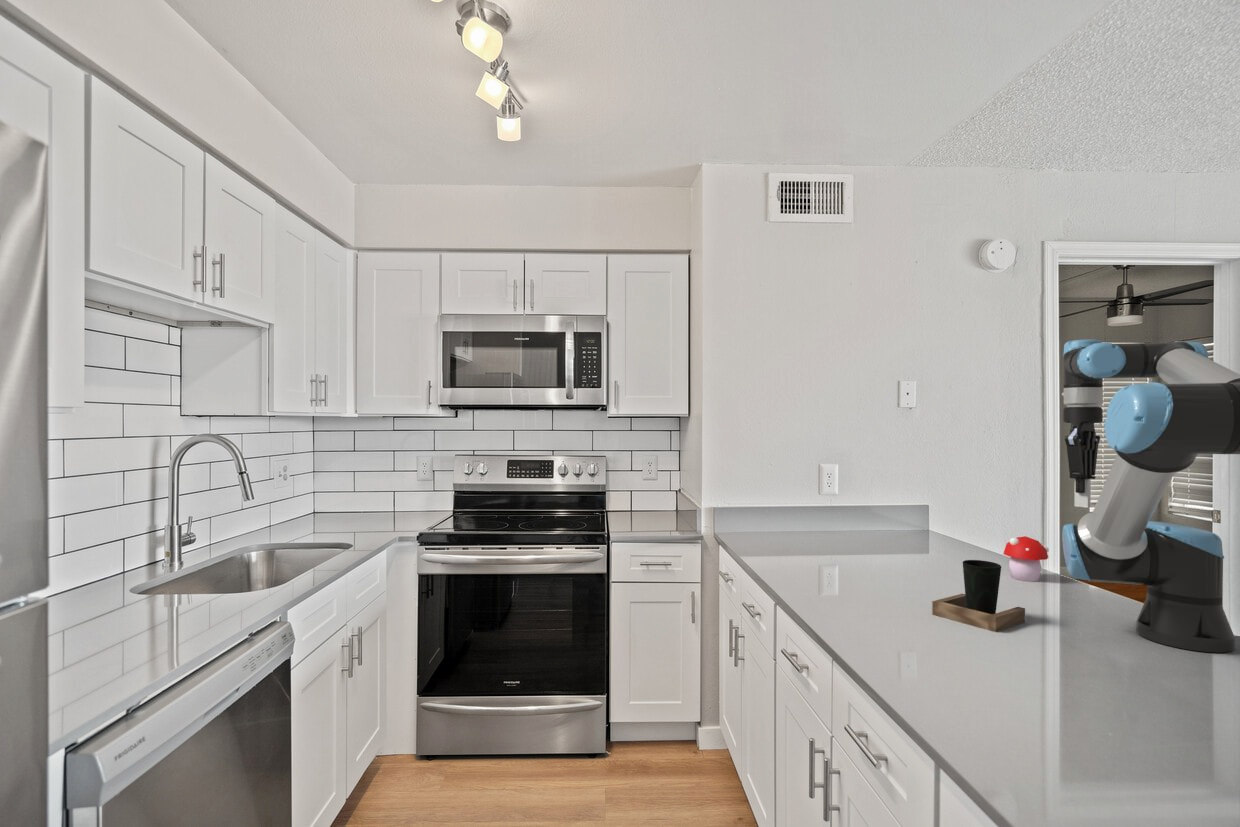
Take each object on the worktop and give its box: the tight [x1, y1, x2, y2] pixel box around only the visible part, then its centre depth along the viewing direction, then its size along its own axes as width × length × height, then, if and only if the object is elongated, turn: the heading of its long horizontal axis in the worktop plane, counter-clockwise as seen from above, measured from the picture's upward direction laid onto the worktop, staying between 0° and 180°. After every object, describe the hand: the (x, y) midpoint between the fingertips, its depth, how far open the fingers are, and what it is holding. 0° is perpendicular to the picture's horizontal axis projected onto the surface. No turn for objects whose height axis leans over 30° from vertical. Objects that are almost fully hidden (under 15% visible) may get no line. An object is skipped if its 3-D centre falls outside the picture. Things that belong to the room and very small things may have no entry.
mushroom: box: [1002, 536, 1049, 583], centre depth 181 cm, size 11×11×12 cm
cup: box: [962, 559, 1002, 614], centre depth 146 cm, size 8×8×12 cm
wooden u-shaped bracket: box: [931, 593, 1026, 633], centre depth 145 cm, size 14×12×3 cm
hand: (1082, 506), depth 151 cm, fingers closed
